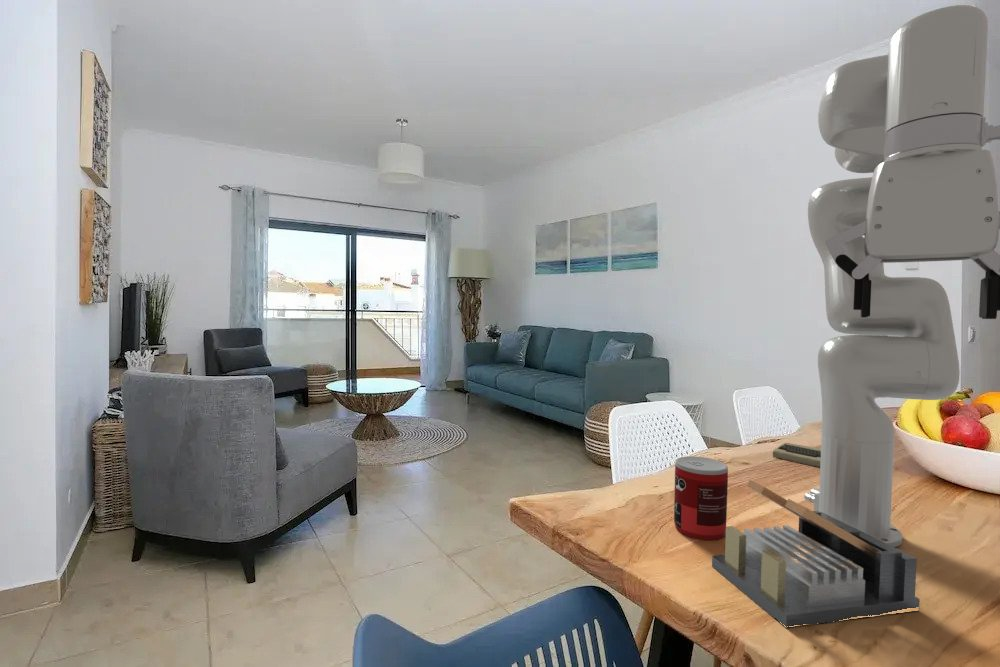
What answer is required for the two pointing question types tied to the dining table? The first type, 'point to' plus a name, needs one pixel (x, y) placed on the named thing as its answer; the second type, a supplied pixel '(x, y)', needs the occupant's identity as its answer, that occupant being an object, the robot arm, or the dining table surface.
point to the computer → (798, 454)
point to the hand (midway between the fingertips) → (923, 317)
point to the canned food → (700, 497)
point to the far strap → (778, 500)
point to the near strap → (832, 528)
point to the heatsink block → (817, 573)
